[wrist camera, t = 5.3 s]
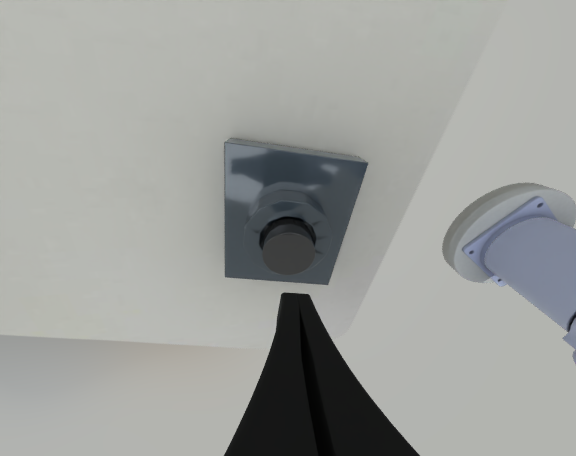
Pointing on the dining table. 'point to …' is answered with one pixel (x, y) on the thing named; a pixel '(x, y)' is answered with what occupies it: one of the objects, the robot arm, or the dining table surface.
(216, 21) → the dining table surface
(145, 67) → the dining table surface
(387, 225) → the dining table surface
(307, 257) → the dark grey push button
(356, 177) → the grey button housing
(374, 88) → the dining table surface
